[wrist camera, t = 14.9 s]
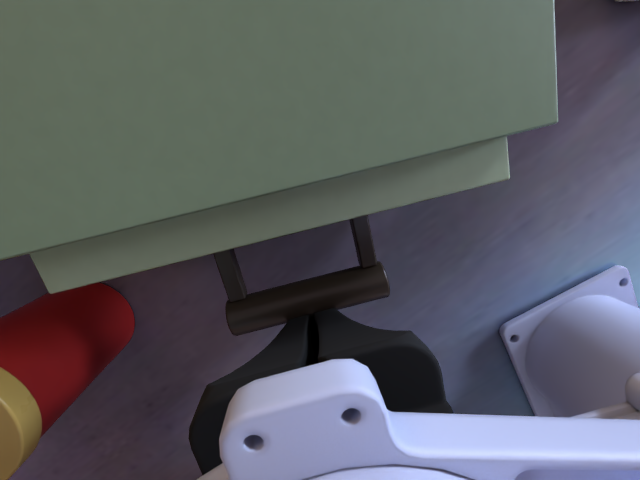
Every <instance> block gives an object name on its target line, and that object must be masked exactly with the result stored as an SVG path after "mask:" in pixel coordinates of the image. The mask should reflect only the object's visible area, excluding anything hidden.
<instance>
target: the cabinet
mask: <svg viewBox="0 0 640 480" xmlns="http://www.w3.org/2000/svg"><path fill="white" fill-rule="evenodd" d="M557 122H558V101H557V70H556V39H555V8H554V0H0V261H1V260H5V259H9V258H14V257H18V256H22V255H26V254H30V253H34V252H38V251H42V250H46V249H50V248H54V247H58V246H62V245H66V244H70V243H74V242H78V241H82V240H87V239H91V238H95V237H99V236H103V235H107V234H111V233H115V232H119V231H123V230H127V229H131V228H135V227H139V226H143V225H147V224H151V223H156V222H160V221H164V220H168V219H172V218H176V217H180V216H184V215H188V214H192V213H196V212H200V211H204V210H208V209H212V208H216V207H220V206H224V205H229V204H233V203H237V202H241V201H245V200H249V199H253V198H257V197H261V196H265V195H269V194H273V193H277V192H281V191H285V190H289V189H293V188H297V187H302V186H306V185H310V184H314V183H318V182H322V181H326V180H330V179H334V178H338V177H342V176H346V175H350V174H354V173H358V172H362V171H366V170H370V169H375V168H379V167H383V166H387V165H391V164H395V163H399V162H403V161H407V160H411V159H415V158H419V157H423V156H427V155H431V154H435V153H439V152H443V151H448V150H452V149H456V148H460V147H464V146H468V145H472V144H476V143H480V142H484V141H488V140H492V139H496V138H500V137H504V136H508V135H512V134H517V133H521V132H525V131H529V130H533V129H537V128H541V127H545V126H549V125H553V124H556V123H557Z"/></svg>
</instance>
